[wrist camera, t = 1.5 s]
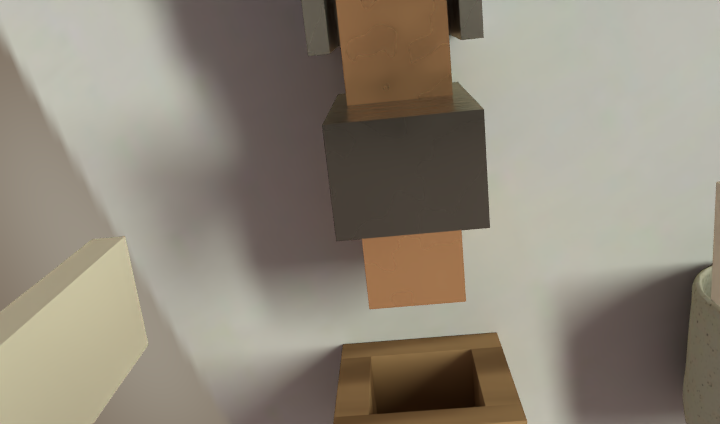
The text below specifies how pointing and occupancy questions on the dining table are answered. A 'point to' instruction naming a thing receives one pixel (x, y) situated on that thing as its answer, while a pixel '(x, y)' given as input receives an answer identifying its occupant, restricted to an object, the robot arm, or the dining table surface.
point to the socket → (427, 382)
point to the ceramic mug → (702, 355)
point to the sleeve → (325, 30)
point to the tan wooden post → (405, 152)
